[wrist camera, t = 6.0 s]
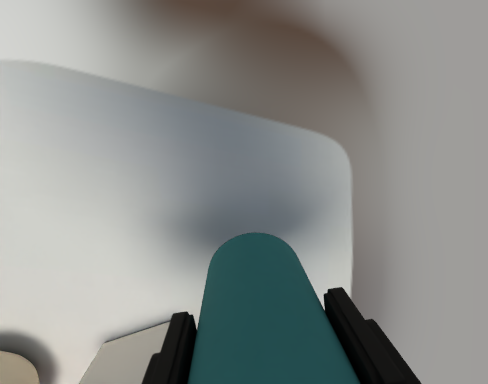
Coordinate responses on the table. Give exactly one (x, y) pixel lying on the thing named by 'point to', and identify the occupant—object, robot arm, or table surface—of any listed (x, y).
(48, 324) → the table surface
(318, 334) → the teal cylinder
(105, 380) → the medicine bottle
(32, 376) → the cream round ball
